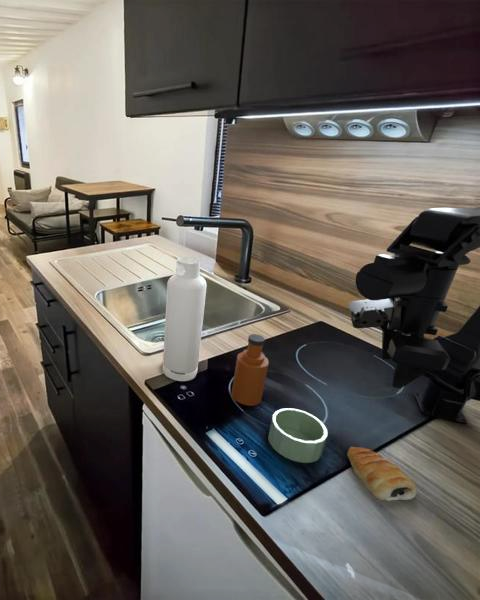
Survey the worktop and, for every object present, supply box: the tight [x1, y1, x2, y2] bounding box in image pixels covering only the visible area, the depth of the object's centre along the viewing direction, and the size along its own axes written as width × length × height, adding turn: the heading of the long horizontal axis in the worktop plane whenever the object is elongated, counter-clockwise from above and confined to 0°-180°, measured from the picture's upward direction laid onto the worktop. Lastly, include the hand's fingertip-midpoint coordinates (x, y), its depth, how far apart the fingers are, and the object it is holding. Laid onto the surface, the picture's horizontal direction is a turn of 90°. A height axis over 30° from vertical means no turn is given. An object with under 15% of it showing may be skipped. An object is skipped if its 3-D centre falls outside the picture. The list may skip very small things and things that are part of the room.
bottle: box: [162, 255, 208, 382], centre depth 81 cm, size 8×8×28 cm
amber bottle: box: [230, 333, 270, 407], centre depth 74 cm, size 6×6×15 cm
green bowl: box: [267, 407, 329, 464], centre depth 64 cm, size 8×8×5 cm
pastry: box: [346, 446, 418, 502], centre depth 58 cm, size 9×7×4 cm
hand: (390, 372), depth 64 cm, fingers open, 9 cm apart
